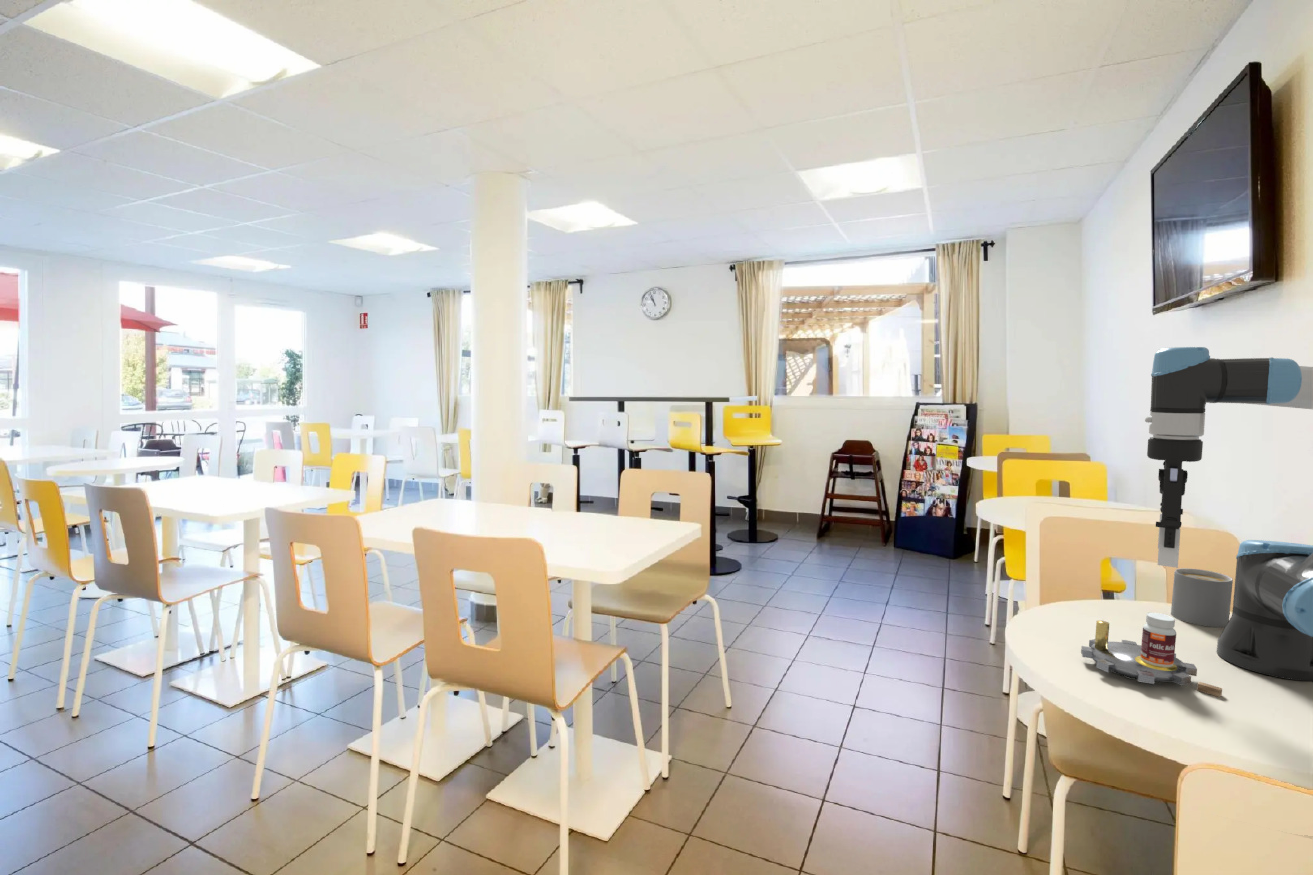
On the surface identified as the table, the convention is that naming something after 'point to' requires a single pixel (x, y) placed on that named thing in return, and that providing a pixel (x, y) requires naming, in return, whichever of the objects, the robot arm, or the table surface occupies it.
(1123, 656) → the disc
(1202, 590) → the coffee mug
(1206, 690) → the pointer
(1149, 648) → the pill bottle
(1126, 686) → the table surface
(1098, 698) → the table surface
